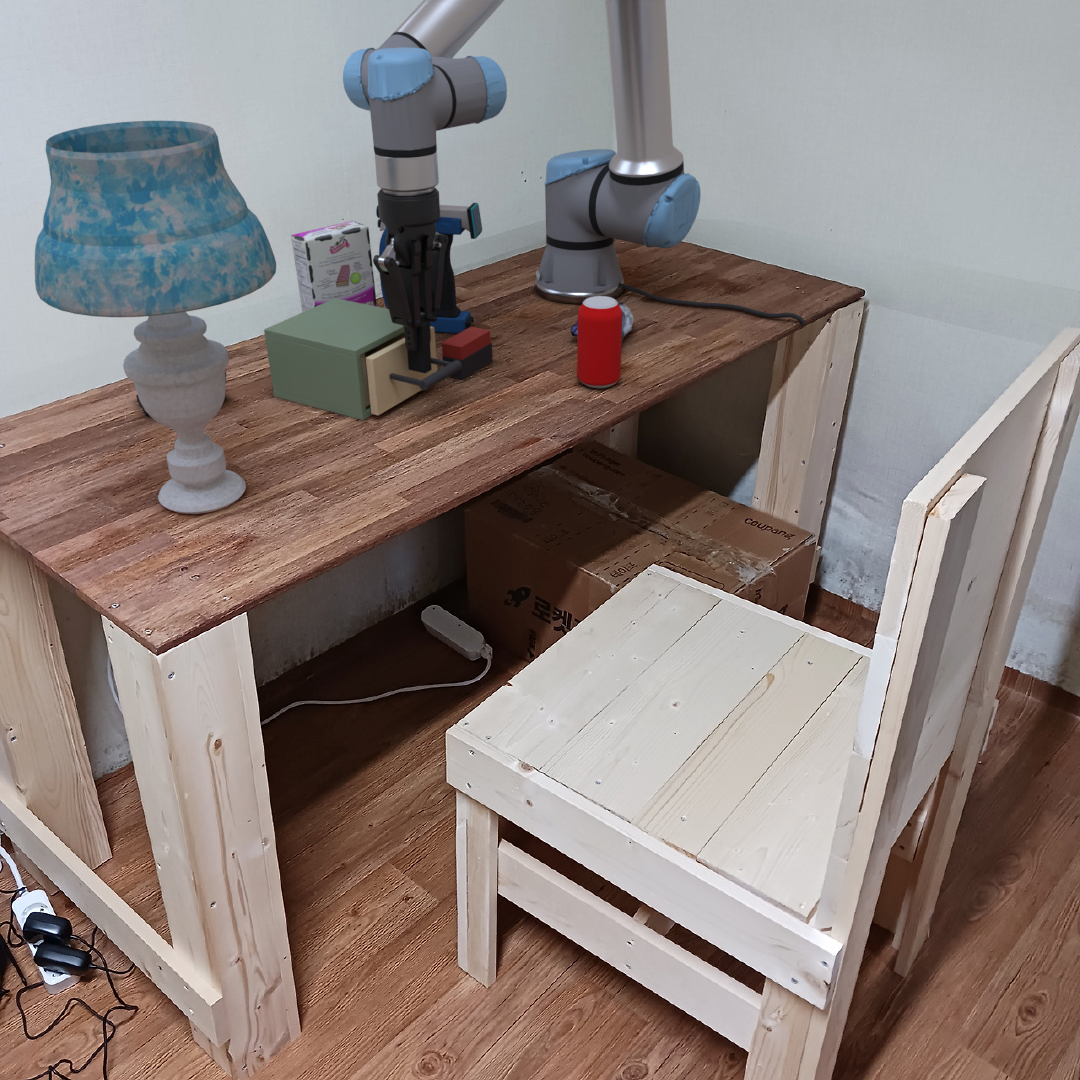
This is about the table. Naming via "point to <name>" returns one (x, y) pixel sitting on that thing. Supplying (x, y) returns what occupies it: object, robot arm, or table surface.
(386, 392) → the drawer
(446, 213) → the handheld scanner
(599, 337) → the beverage can
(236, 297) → the table lamp
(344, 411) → the cabinet
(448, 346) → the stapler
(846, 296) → the table surface
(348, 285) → the candy bar box
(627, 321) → the snack package
